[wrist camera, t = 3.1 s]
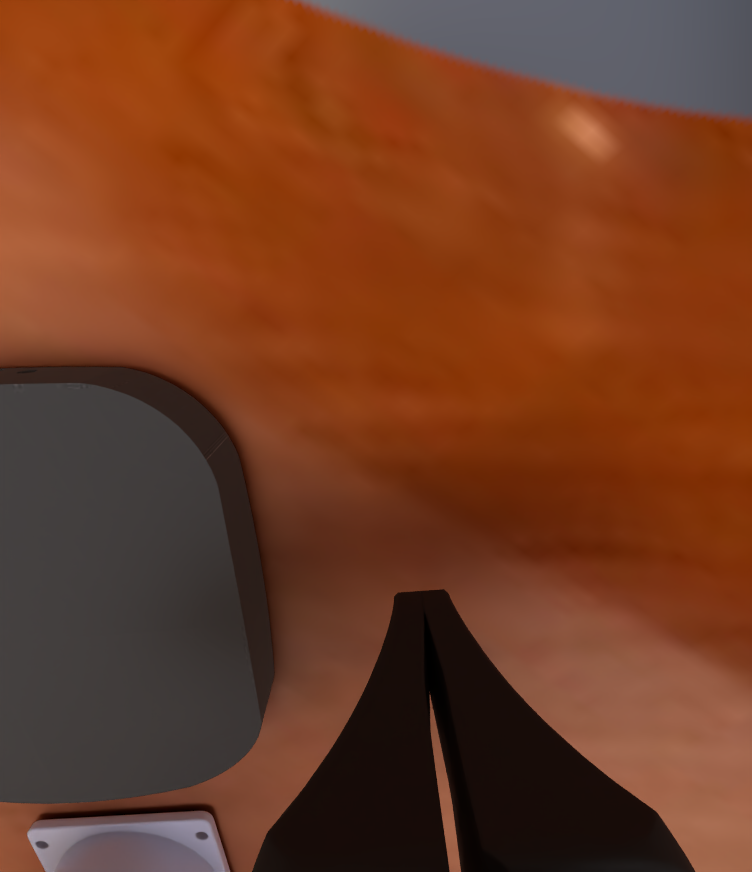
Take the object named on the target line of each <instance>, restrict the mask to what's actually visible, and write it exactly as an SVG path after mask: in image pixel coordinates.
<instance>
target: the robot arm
mask: <svg viewBox="0 0 752 872" xmlns="http://www.w3.org/2000/svg"><path fill="white" fill-rule="evenodd" d="M429 691H430V693H429ZM430 695H431V700H432V705H433V710H434V715H435V719H436V724H437V729H438V734H439V738H440V743H441V748H442V753H443V757H444V762H445V767H446V772H447V776H448V781H449V787H450V793H451V798H452V804H453V812H454V820H455V827H456V835H457V843H458V850H459V858H460V866H461V872H695V870H694V869H693V867H692V865H691V863H690V862H689V860H688V858H687V857H686V855H685V853H684V852H683V850H682V849H681V847H680V846H679V844H678V843H677V841H676V840H675V838H674V837H673V835H672V834H671V832H670V831H669V829H668V828H667V826H666V825H665V823H664V822H663V820H662V819H661V818H660V816H659V815H658V813H657V812H656V811H655V810H653V809H652V808H650V807H649V806H648V805H646V804H645V803H643V802H642V801H641V800H639V799H638V798H637V797H635V796H634V795H632V794H631V793H630V792H628V791H627V790H625V789H624V788H623V787H621V786H620V785H619V784H617V783H616V782H615V781H613V780H612V779H611V778H609V777H608V776H607V775H606V774H604V773H603V772H602V771H601V770H599V769H598V768H597V767H596V766H595V765H593V764H592V763H591V762H590V761H588V760H587V759H586V758H585V757H583V756H582V755H581V754H580V753H579V752H578V751H577V750H576V749H575V748H573V747H572V746H571V745H570V744H569V743H568V742H567V741H566V740H565V739H563V738H562V737H561V736H560V735H559V734H558V733H557V732H556V731H555V730H553V729H552V728H551V727H550V726H549V725H548V724H547V723H546V722H545V721H544V720H543V719H542V718H541V717H540V716H539V715H538V714H537V713H536V712H535V711H534V710H533V709H532V708H531V707H530V706H529V705H528V704H527V703H526V702H525V701H524V699H523V698H522V697H521V696H520V695H519V694H518V693H517V692H516V691H515V690H514V689H513V687H512V686H511V685H510V684H509V683H508V682H507V680H506V679H505V678H504V677H503V676H502V674H501V673H500V672H499V671H498V669H497V668H496V667H495V666H494V664H493V663H492V662H491V661H490V659H489V658H488V657H487V655H486V654H485V653H484V651H483V650H482V648H481V647H480V646H479V644H478V643H477V641H476V640H475V638H474V637H473V636H472V634H471V633H470V631H469V630H468V628H467V627H466V625H465V623H464V622H463V620H462V618H461V617H460V615H459V614H458V612H457V610H456V608H455V606H454V604H453V603H452V600H451V598H450V596H449V594H448V592H446V591H445V590H444V589H443V590H429V591H415V592H401V593H397V594H396V595H395V596H394V606H393V611H392V616H391V620H390V624H389V628H388V631H387V634H386V637H385V640H384V643H383V646H382V649H381V652H380V655H379V657H378V660H377V662H376V664H375V667H374V669H373V672H372V674H371V676H370V679H369V681H368V683H367V685H366V688H365V690H364V692H363V694H362V696H361V698H360V700H359V702H358V704H357V706H356V707H355V709H354V711H353V713H352V715H351V717H350V718H349V720H348V722H347V724H346V725H345V727H344V729H343V730H342V732H341V734H340V736H339V737H338V739H337V740H336V742H335V744H334V745H333V747H332V748H331V750H330V751H329V753H328V754H327V756H326V757H325V759H324V760H323V762H322V763H321V764H320V766H319V767H318V769H317V770H316V771H315V773H314V774H313V776H312V777H311V779H310V780H309V781H308V783H307V784H306V786H305V787H304V788H303V789H302V791H301V792H300V793H299V795H298V796H297V797H296V798H295V800H294V801H293V802H292V803H291V804H290V806H289V807H288V808H287V809H286V811H285V812H284V813H283V814H282V815H281V817H280V818H279V819H278V820H277V822H276V823H275V824H274V825H273V826H272V828H271V829H270V830H269V831H268V833H267V835H266V837H265V839H264V842H263V844H262V847H261V849H260V852H259V854H258V857H257V859H256V862H255V865H254V868H253V871H252V872H449V864H448V856H447V849H446V842H445V835H444V828H443V821H442V814H441V807H440V800H439V793H438V785H437V778H436V770H435V763H434V755H433V748H432V740H431V731H430ZM27 836H28V839H29V841H30V843H31V845H32V846H33V848H34V850H35V852H36V854H37V856H38V858H39V860H40V862H41V864H42V866H43V867H44V869H45V871H46V872H230V869H229V866H228V863H227V859H226V856H225V853H224V850H223V847H222V843H221V840H220V837H219V834H218V831H217V827H216V824H215V821H214V818H213V816H212V815H211V814H210V813H209V812H206V811H185V812H168V813H151V814H134V815H117V816H99V817H82V818H65V819H48V820H38V821H36V822H34V823H33V824H32V826H31V827H30V829H29V831H28V833H27Z"/></svg>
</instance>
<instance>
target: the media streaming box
mask: <svg viewBox="0 0 752 872" xmlns="http://www.w3.org/2000/svg"><path fill="white" fill-rule="evenodd" d="M273 678H274V661H273V650H272V640H271V631H270V622H269V614H268V606H267V599H266V592H265V585H264V579H263V572H262V566H261V560H260V554H259V549H258V543H257V538H256V533H255V528H254V522H253V517H252V513H251V508H250V503H249V498H248V494H247V489H246V485H245V480H244V476H243V471H242V467H241V463H240V459H239V456H238V453H237V451H236V449H235V447H234V445H233V443H232V441H231V439H230V438H229V436H228V434H227V433H226V432H225V430H224V429H223V427H222V426H221V425H220V423H219V422H218V421H217V420H216V419H215V417H214V416H213V415H212V414H211V413H210V412H209V411H208V410H207V409H206V408H205V407H204V406H203V405H201V404H200V403H199V402H198V401H197V400H196V399H194V398H193V397H192V396H190V395H189V394H187V393H186V392H185V391H183V390H181V389H180V388H178V387H176V386H175V385H173V384H171V383H169V382H167V381H165V380H163V379H161V378H158V377H156V376H153V375H151V374H148V373H145V372H141V371H138V370H134V369H129V368H124V367H29V368H0V802H11V803H40V804H54V803H79V802H95V801H105V800H115V799H123V798H131V797H138V796H145V795H150V794H156V793H162V792H168V791H172V790H177V789H182V788H187V787H191V786H194V785H197V784H199V783H202V782H204V781H207V780H209V779H211V778H213V777H215V776H217V775H219V774H221V773H223V772H224V771H226V770H228V769H229V768H231V767H232V766H234V765H235V764H236V763H237V762H239V761H240V760H241V759H242V758H243V757H244V756H245V755H246V754H247V753H248V752H249V751H250V749H251V748H252V747H253V745H254V744H255V742H256V740H257V738H258V736H259V733H260V730H261V726H262V722H263V718H264V714H265V710H266V706H267V702H268V698H269V694H270V691H271V687H272V683H273Z"/></svg>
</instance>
